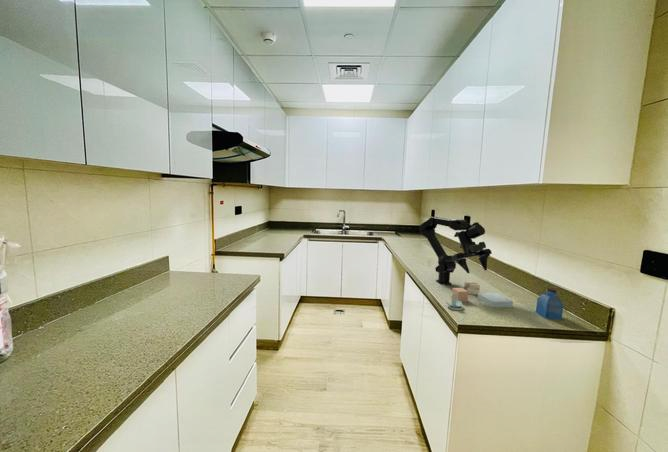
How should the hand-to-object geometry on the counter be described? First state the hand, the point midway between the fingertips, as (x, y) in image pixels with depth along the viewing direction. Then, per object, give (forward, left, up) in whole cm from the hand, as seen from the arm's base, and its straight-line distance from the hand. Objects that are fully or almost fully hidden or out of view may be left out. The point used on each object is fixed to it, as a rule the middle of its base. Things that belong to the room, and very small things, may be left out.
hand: (477, 271), depth 131 cm
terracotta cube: (+4, -11, -12) cm, 17 cm away
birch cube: (-5, +1, -12) cm, 13 cm away
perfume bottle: (+22, +18, -13) cm, 31 cm away
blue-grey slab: (+8, +4, -13) cm, 16 cm away
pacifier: (+13, -18, -13) cm, 26 cm away
